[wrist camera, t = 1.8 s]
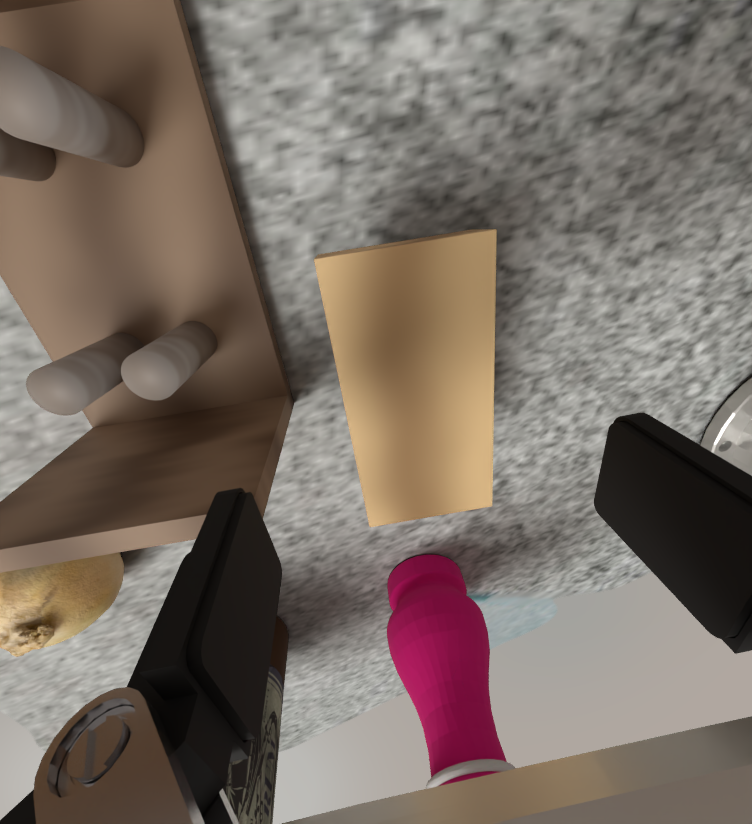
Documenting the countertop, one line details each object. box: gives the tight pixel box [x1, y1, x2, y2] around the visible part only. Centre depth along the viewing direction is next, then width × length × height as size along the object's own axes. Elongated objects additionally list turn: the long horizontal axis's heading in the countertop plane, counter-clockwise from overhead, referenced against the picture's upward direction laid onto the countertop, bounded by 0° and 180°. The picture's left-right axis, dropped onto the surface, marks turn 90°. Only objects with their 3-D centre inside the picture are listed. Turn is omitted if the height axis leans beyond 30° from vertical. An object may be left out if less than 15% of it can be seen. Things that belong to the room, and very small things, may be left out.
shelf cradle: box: [0, 0, 294, 573], centre depth 12 cm, size 11×18×10 cm, turn 8°
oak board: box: [314, 229, 497, 527], centre depth 15 cm, size 6×12×2 cm, turn 8°
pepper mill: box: [387, 555, 516, 789], centre depth 21 cm, size 7×7×20 cm
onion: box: [0, 552, 124, 657], centre depth 22 cm, size 8×8×7 cm
